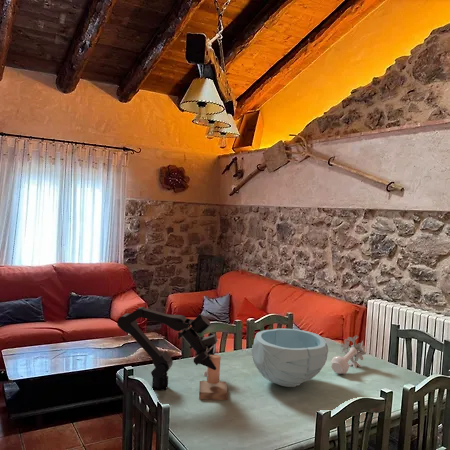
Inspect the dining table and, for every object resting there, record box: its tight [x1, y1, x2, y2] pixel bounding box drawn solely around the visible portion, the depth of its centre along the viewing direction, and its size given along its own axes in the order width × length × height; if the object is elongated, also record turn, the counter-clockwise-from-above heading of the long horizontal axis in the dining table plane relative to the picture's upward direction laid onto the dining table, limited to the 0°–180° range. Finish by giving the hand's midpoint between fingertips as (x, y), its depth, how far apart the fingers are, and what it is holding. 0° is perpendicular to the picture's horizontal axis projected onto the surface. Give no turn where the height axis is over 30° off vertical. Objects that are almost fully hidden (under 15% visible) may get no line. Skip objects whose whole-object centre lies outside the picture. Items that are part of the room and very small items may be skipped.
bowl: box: [251, 327, 329, 388], centre depth 206 cm, size 35×35×22 cm
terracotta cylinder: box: [206, 354, 222, 384], centre depth 191 cm, size 6×6×11 cm
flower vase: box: [330, 334, 367, 375], centre depth 229 cm, size 13×18×25 cm
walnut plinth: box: [198, 380, 228, 401], centre depth 191 cm, size 12×12×3 cm
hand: (216, 366), depth 191 cm, fingers closed on terracotta cylinder, 5 cm apart
